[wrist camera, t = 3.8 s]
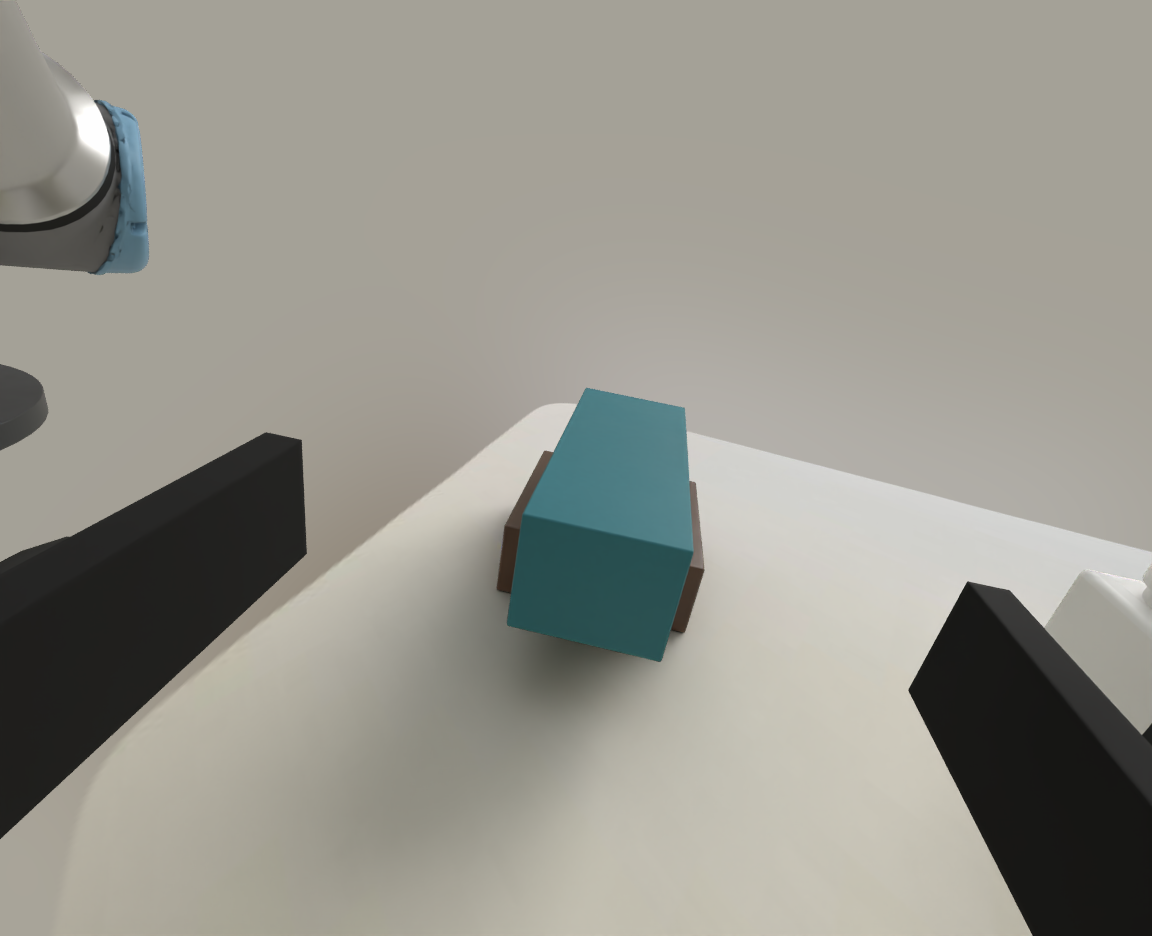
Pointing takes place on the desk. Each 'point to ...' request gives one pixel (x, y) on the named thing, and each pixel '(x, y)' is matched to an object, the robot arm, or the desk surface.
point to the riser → (514, 530)
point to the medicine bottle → (1111, 639)
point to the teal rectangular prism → (608, 529)
